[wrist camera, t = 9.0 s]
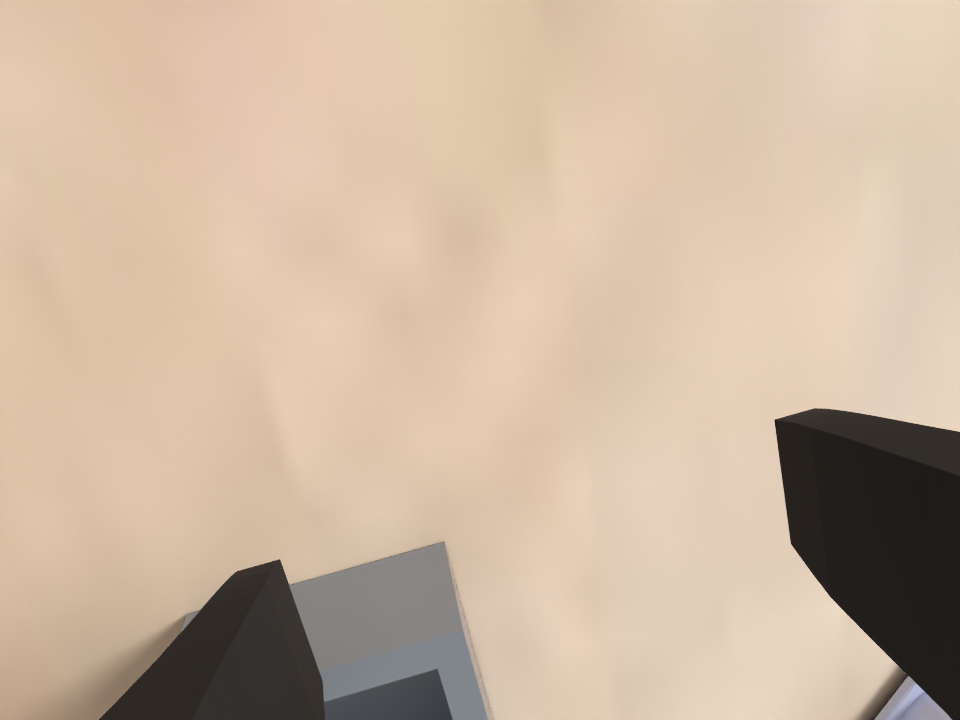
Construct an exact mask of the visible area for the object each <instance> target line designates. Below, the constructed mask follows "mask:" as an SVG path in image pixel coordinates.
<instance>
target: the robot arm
mask: <svg viewBox="0 0 960 720" xmlns="http://www.w3.org/2000/svg"><path fill="white" fill-rule="evenodd" d="M775 427H776V435H777V442H778V450H779V457H780V465H781V472H782V480H783V487H784V495H785V502H786V510H787V517H788V525H789V532H790V540H791V544H792V546H793V547H794V549H795V550H796V551H797V553H798V554H799V556H800V557H801V558H802V560H803V561H804V562H805V564H806V565H807V567H808V568H809V569H810V571H811V572H812V574H813V575H814V576H815V577H816V579H817V580H818V581H819V583H820V584H821V585H822V587H823V588H824V589H825V590H826V592H827V593H828V594H829V596H830V597H831V598H832V599H833V600H834V601H835V602H836V603H837V604H838V605H839V606H840V607H841V608H842V609H843V610H844V611H845V612H846V614H847V615H848V616H849V617H850V618H851V619H852V620H853V621H854V622H855V623H856V624H857V625H858V626H859V627H860V628H861V629H862V630H863V631H864V632H865V633H866V634H867V635H868V636H869V637H870V638H871V639H872V640H873V641H874V642H875V643H876V644H877V645H878V646H879V647H880V648H881V649H882V650H883V651H884V652H885V653H886V654H887V655H888V656H889V657H890V658H891V659H892V660H893V661H894V662H895V663H896V664H897V665H898V666H899V667H900V668H901V669H902V670H903V671H904V672H905V673H906V674H907V675H908V677H907V678H906V679H905V681H904V682H903V683H902V685H901V686H900V687H899V688H898V690H897V691H896V692H895V694H894V695H893V696H892V697H891V699H890V700H889V701H888V703H887V704H886V705H885V706H884V708H883V709H882V710H881V712H880V713H879V714H878V715H877V717H876V718H875V719H874V720H960V432H957V431H951V430H946V429H940V428H935V427H930V426H924V425H919V424H914V423H908V422H903V421H898V420H893V419H887V418H882V417H877V416H871V415H866V414H860V413H853V412H847V411H840V410H831V409H811V410H807V411H804V412H800V413H797V414H793V415H790V416H786V417H783V418H779V419H776V420H775ZM99 720H325V711H324V694H323V681H322V678H321V675H320V672H319V669H318V666H317V663H316V661H315V658H314V655H313V652H312V649H311V646H310V644H309V641H308V638H307V635H306V632H305V629H304V626H303V624H302V621H301V618H300V615H299V612H298V609H297V607H296V604H295V601H294V598H293V595H292V592H291V589H290V587H289V584H288V581H287V578H286V575H285V572H284V569H283V567H282V564H281V561H280V560H276V561H272V562H269V563H265V564H262V565H258V566H255V567H251V568H248V569H244V570H241V571H237V572H235V573H234V574H233V575H232V576H231V577H230V578H229V579H228V580H227V581H226V582H225V583H224V584H223V585H222V586H221V587H220V588H219V590H218V591H217V592H216V593H215V594H214V595H213V596H212V597H211V599H210V600H209V601H208V602H207V603H206V604H205V606H204V607H203V608H202V609H201V610H200V611H199V612H198V614H197V615H196V616H195V617H194V618H193V619H192V621H191V622H190V623H189V624H188V625H187V626H186V627H185V629H184V630H183V631H182V632H181V633H180V634H179V635H178V637H177V638H176V639H175V640H174V641H173V642H172V643H171V645H170V646H169V647H168V648H167V649H166V650H165V651H164V652H163V654H162V655H161V656H160V657H159V658H158V659H157V660H156V661H155V662H154V663H153V664H152V666H151V667H150V668H149V669H148V670H147V671H146V672H145V673H144V674H143V675H142V676H141V677H140V678H139V679H138V680H137V681H136V682H135V683H134V684H133V685H132V686H131V687H130V688H129V689H128V691H127V692H126V693H125V694H124V695H123V696H122V697H121V698H120V699H119V700H118V701H117V702H116V703H115V704H114V705H113V706H112V707H111V708H110V709H109V710H108V711H107V712H106V713H105V714H104V715H103V716H102V717H101V718H100V719H99Z"/></svg>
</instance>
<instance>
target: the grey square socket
mask: <svg viewBox="0 0 960 720" xmlns="http://www.w3.org/2000/svg"><path fill="white" fill-rule="evenodd" d="M289 587H290V589H291V592H292V595H293V598H294V601H295V604H296V607H297V609H298V612H299V615H300V618H301V621H302V624H303V626H304V629H305V632H306V635H307V638H308V641H309V644H310V646H311V649H312V652H313V655H314V658H315V661H316V663H317V666H318V669H319V672H320V675H321V678H322V681H323V694H324V711H325V720H494V719H493V716H492V712H491V708H490V705H489V701H488V698H487V694H486V690H485V687H484V683H483V680H482V676H481V672H480V669H479V665H478V662H477V658H476V654H475V651H474V647H473V644H472V640H471V636H470V633H469V629H468V625H467V622H466V618H465V615H464V611H463V607H462V604H461V600H460V597H459V593H458V589H457V586H456V582H455V579H454V575H453V571H452V568H451V564H450V561H449V557H448V553H447V550H446V546H445V542H441V543H437V544H434V545H430V546H427V547H423V548H420V549H416V550H413V551H409V552H406V553H402V554H399V555H395V556H391V557H388V558H384V559H381V560H377V561H374V562H370V563H367V564H363V565H360V566H356V567H353V568H349V569H345V570H342V571H338V572H335V573H331V574H328V575H324V576H321V577H317V578H314V579H310V580H307V581H303V582H300V583H296V584H292V585H289ZM198 612H199V611H197V612H193V613H190V614H187V615H186V618H185V621H184V624H183V627H182V629H181V632H182V631H183V630H184V629H185V627H186V626H187V625H188V624H189V623H190V622H191V621H192V619H193V618H194V617H195V616H196V615H197V614H198ZM181 632H180V633H181Z"/></svg>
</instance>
